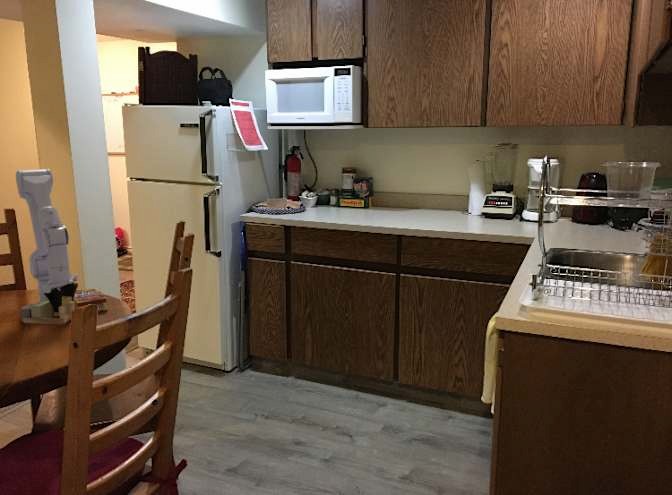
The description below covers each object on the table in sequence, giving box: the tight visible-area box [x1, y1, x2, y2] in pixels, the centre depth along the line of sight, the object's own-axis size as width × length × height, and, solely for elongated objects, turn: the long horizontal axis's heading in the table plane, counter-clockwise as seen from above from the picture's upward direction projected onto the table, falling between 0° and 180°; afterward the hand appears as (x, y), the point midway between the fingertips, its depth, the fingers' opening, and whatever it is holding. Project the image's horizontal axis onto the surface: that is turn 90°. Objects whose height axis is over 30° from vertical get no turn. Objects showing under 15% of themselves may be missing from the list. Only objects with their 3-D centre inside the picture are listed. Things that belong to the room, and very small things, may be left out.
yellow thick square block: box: [53, 296, 72, 316], centre depth 178 cm, size 5×3×5 cm, turn 171°
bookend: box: [19, 303, 35, 322], centre depth 174 cm, size 5×3×4 cm, turn 171°
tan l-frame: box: [22, 301, 75, 325], centre depth 173 cm, size 7×13×5 cm, turn 81°
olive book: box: [31, 300, 53, 318], centre depth 174 cm, size 5×3×5 cm, turn 171°
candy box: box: [73, 287, 108, 312], centre depth 186 cm, size 9×4×15 cm
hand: (63, 309), depth 179 cm, fingers closed on yellow thick square block, 5 cm apart
